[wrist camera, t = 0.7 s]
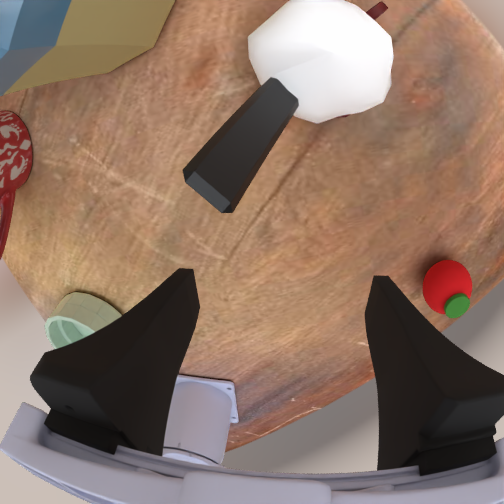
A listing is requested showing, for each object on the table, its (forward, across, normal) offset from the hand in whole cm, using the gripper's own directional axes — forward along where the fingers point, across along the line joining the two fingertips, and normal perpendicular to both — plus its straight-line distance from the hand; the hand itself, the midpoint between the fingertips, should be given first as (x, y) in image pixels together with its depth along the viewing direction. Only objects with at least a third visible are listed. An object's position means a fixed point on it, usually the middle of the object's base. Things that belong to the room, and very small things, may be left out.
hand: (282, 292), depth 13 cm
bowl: (+9, +19, +14) cm, 25 cm away
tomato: (+9, -12, +5) cm, 16 cm away
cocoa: (+10, -1, -9) cm, 13 cm away
